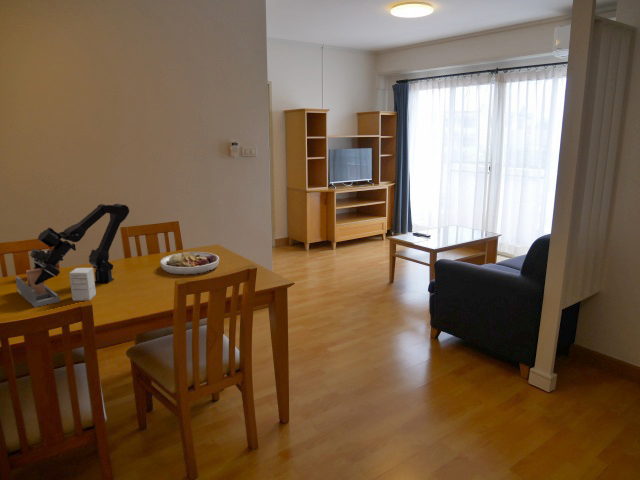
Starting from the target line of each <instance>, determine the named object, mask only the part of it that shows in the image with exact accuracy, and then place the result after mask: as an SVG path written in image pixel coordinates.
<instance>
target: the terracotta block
mask: <svg viewBox="0 0 640 480" xmlns="http://www.w3.org/2000/svg"><path fill="white" fill-rule="evenodd" d="M40 274H41V269H40V268H38V269H28V270H26V277H27V284H28V285H29V286H30V287H31V288H33V289H34V290H35V293H36V295H37V294H42V293H46V291H45V285H46V284H45V281H44V282H42V283H40V284H38V285H35V284H34V283H35V281H36V280H37V278H38V277H39V275H40Z"/></svg>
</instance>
